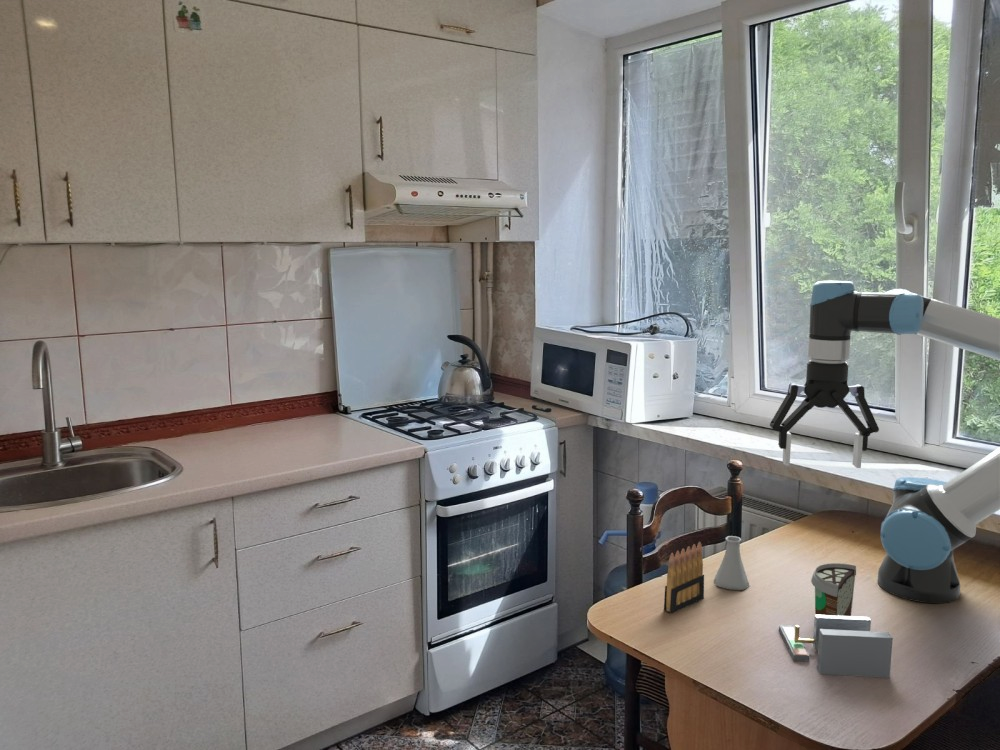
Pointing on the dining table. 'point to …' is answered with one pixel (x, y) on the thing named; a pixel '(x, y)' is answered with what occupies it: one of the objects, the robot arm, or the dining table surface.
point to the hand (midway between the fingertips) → (821, 465)
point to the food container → (834, 589)
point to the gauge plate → (833, 626)
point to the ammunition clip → (684, 579)
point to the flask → (732, 567)
